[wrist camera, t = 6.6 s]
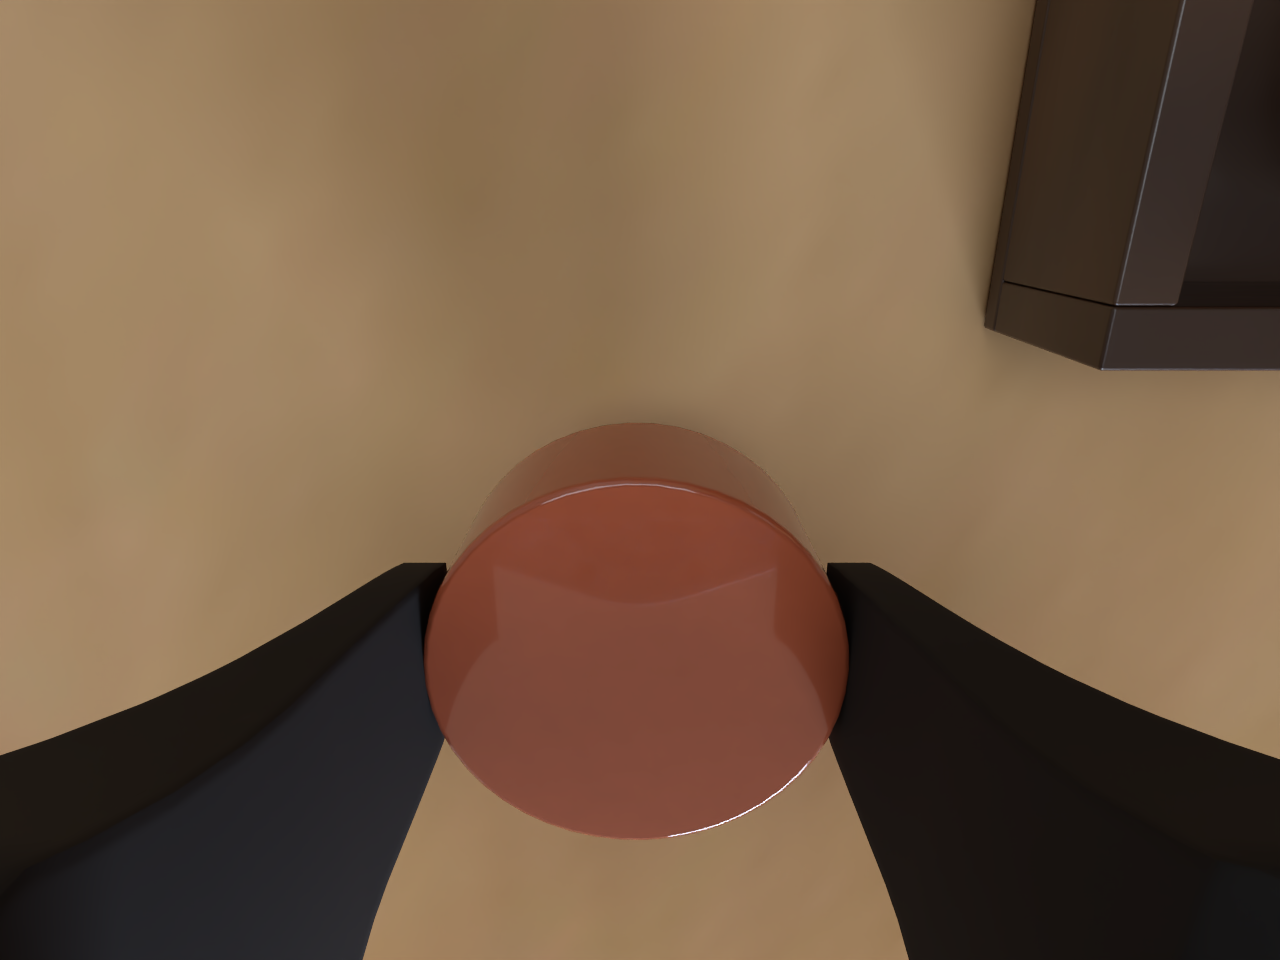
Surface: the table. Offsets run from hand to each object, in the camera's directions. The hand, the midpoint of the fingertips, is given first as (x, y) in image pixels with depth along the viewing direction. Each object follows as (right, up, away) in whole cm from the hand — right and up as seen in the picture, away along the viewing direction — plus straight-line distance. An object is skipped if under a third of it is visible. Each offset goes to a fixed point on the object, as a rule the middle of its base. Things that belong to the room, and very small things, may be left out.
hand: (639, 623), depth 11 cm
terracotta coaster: (0, 0, +1) cm, 1 cm away
